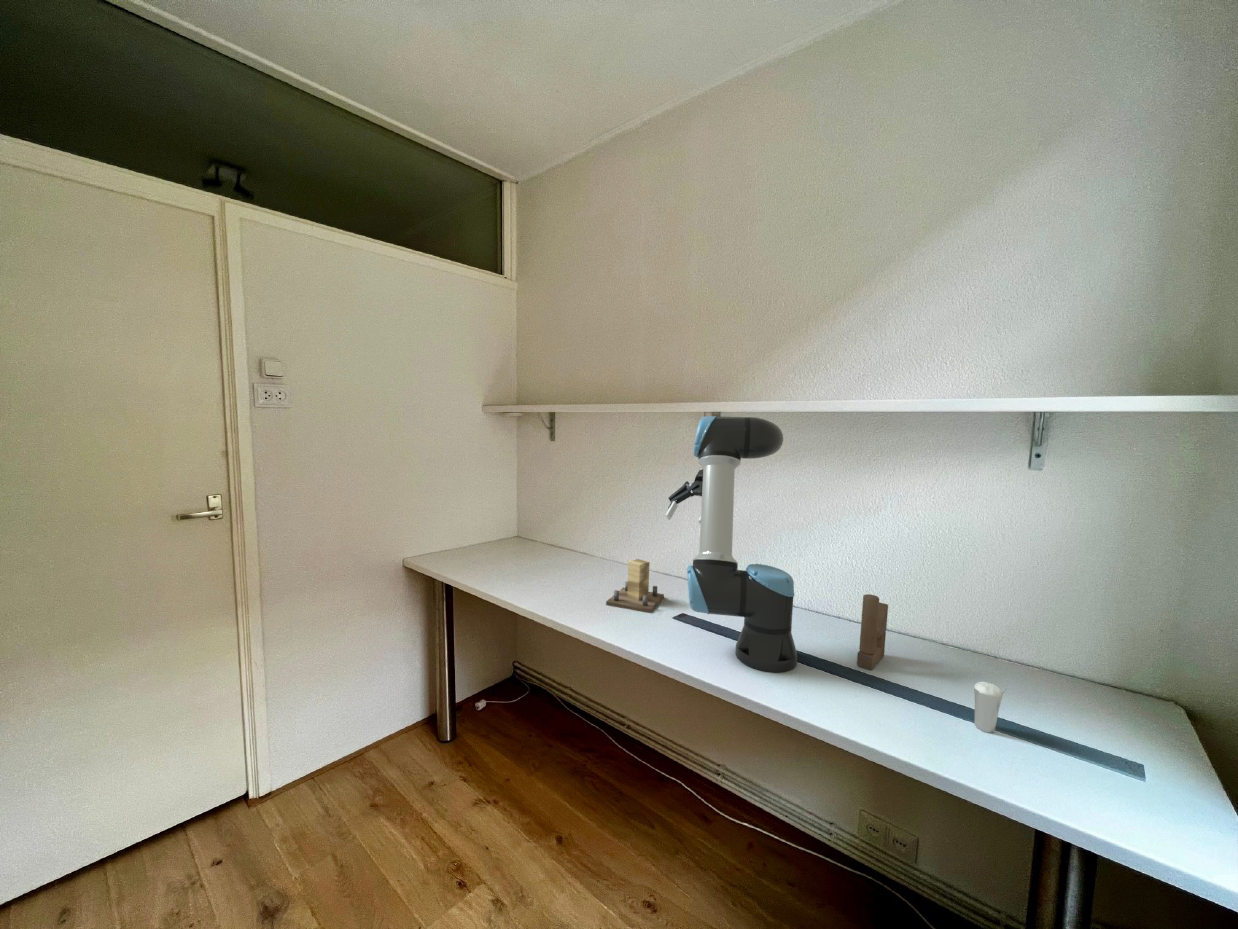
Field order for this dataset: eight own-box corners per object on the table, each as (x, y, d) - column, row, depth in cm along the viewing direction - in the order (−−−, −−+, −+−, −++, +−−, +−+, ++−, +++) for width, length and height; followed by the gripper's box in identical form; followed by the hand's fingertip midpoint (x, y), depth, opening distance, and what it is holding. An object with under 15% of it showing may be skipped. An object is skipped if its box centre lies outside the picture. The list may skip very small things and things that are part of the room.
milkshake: (994, 740, 95) (999, 690, 94) (965, 724, 100) (970, 677, 99) (1008, 734, 97) (1013, 686, 96) (979, 719, 102) (984, 673, 101)
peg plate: (649, 612, 153) (650, 599, 153) (606, 604, 159) (606, 592, 159) (663, 597, 167) (664, 585, 167) (623, 590, 173) (623, 579, 172)
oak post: (638, 600, 160) (639, 565, 159) (627, 596, 164) (628, 561, 163) (648, 597, 164) (649, 562, 163) (637, 593, 167) (638, 558, 166)
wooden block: (884, 657, 128) (889, 590, 127) (871, 671, 120) (877, 600, 119) (869, 652, 131) (874, 586, 129) (856, 666, 123) (861, 596, 121)
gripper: (742, 485, 174) (718, 532, 164) (683, 479, 191) (659, 521, 181) (735, 471, 170) (711, 518, 160) (676, 465, 187) (650, 508, 176)
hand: (683, 520), depth 170 cm, fingers open, 13 cm apart
